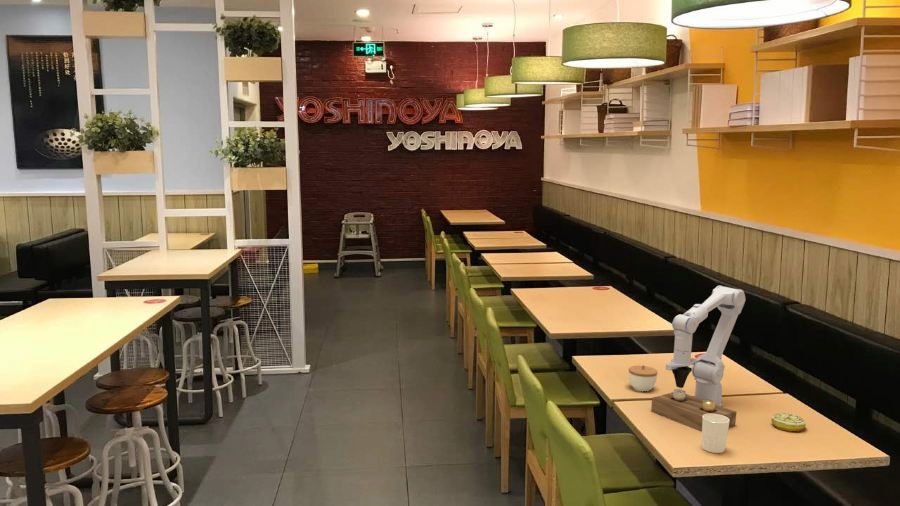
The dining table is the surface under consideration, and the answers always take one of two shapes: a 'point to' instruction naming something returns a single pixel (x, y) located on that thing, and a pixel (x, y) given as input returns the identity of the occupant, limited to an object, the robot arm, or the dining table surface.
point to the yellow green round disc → (788, 422)
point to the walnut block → (687, 410)
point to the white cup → (714, 432)
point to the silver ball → (679, 395)
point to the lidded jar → (642, 377)
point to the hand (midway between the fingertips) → (679, 387)
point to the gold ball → (708, 406)
